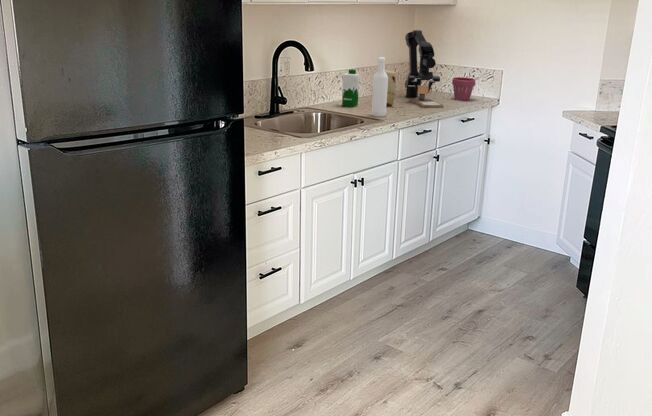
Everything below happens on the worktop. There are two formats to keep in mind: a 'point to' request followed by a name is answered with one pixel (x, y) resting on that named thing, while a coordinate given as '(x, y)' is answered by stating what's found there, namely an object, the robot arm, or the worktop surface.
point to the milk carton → (350, 89)
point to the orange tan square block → (422, 89)
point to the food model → (391, 87)
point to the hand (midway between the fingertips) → (422, 92)
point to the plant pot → (463, 88)
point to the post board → (425, 102)
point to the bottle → (379, 90)
